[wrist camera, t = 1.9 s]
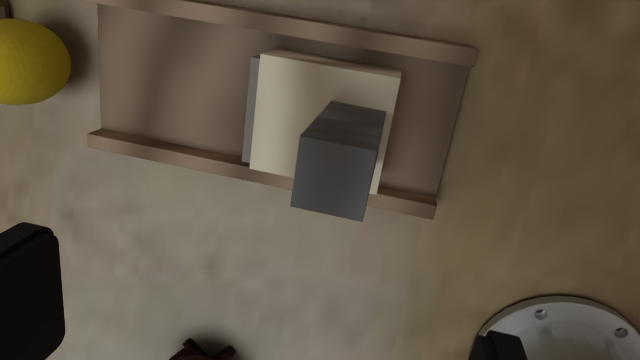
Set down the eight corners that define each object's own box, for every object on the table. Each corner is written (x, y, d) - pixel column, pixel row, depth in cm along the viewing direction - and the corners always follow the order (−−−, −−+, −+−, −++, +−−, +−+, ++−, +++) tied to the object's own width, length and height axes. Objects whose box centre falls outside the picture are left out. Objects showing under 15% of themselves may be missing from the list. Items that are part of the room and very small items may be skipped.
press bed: (472, 45, 29) (478, 49, 26) (431, 203, 33) (433, 219, 30) (107, -14, 32) (81, -16, 29) (111, 137, 36) (87, 147, 33)
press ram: (402, 69, 29) (396, 106, 18) (380, 173, 31) (363, 261, 20) (270, 46, 30) (187, 68, 19) (259, 149, 32) (181, 220, 21)
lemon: (20, 17, 34) (-88, 18, 27) (88, 18, 33) (-5, 20, 26) (35, 92, 36) (-62, 113, 29) (99, 95, 35) (16, 118, 28)
